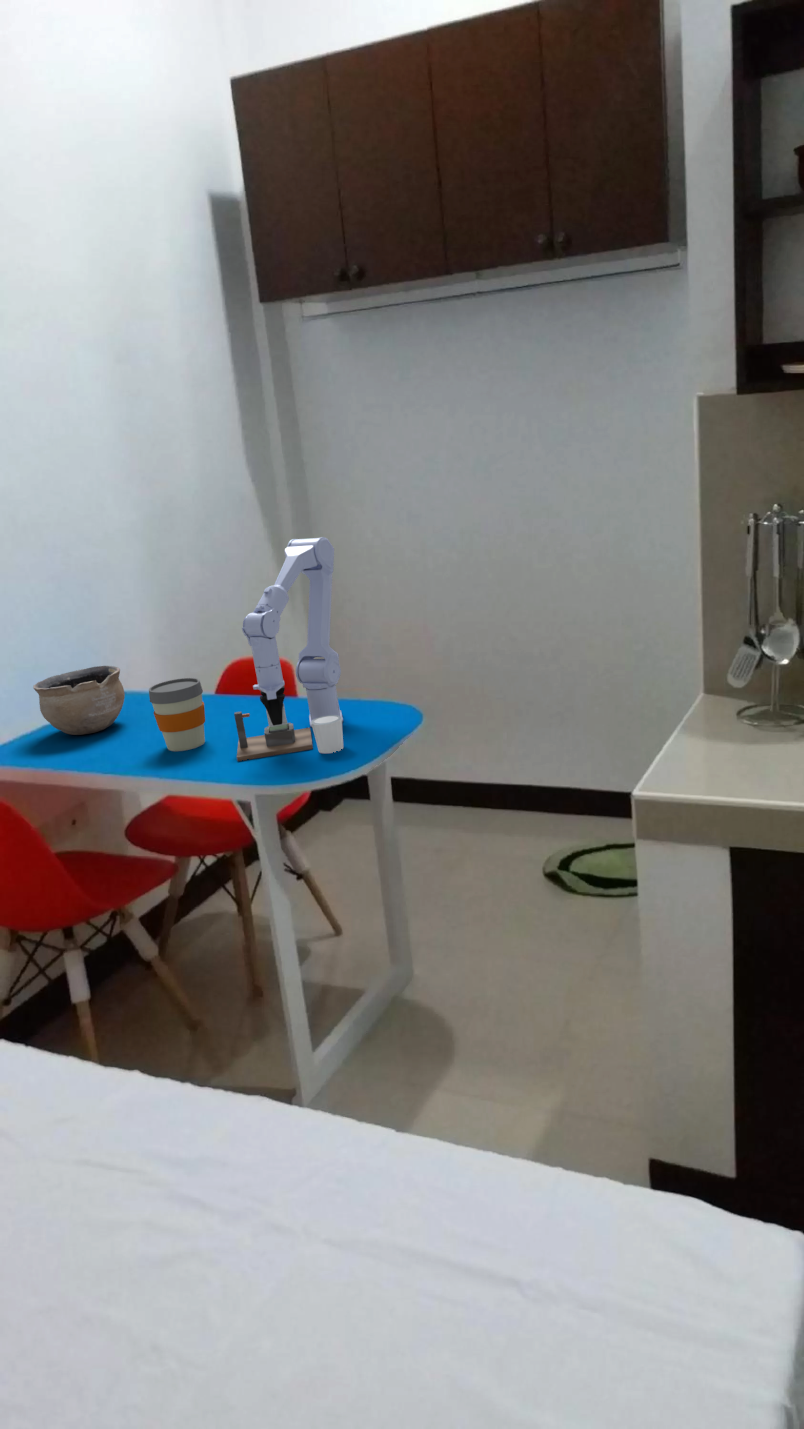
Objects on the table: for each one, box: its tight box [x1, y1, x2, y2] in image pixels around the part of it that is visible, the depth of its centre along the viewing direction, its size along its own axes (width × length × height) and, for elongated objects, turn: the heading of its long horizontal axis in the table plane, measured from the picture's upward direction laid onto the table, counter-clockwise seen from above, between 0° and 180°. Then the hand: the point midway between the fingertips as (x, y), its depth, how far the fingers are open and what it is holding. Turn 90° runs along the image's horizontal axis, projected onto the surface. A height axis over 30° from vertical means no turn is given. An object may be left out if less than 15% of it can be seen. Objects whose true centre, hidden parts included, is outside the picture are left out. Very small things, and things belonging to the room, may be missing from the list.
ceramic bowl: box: [32, 665, 126, 736], centre depth 285 cm, size 22×22×15 cm
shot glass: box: [311, 715, 344, 754], centre depth 241 cm, size 7×7×7 cm
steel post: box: [265, 702, 288, 733], centre depth 249 cm, size 4×4×8 cm
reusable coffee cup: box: [148, 677, 206, 752], centre depth 259 cm, size 13×13×15 cm
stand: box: [234, 711, 314, 762], centre depth 249 cm, size 14×17×9 cm
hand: (277, 721), depth 249 cm, fingers closed on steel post, 4 cm apart
